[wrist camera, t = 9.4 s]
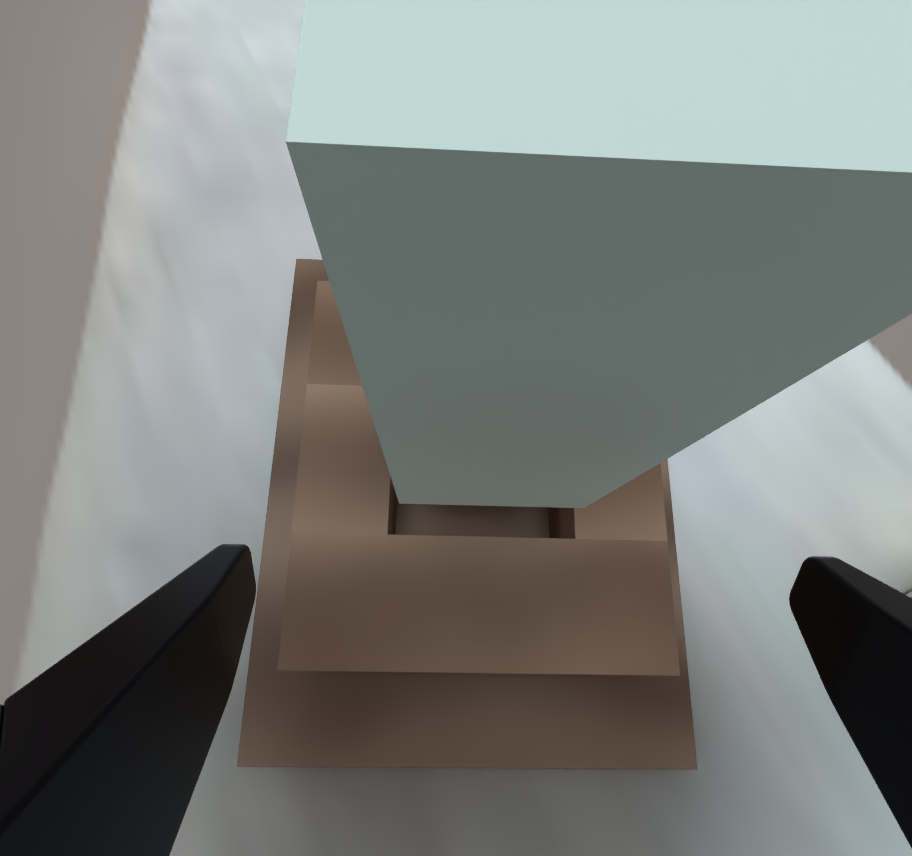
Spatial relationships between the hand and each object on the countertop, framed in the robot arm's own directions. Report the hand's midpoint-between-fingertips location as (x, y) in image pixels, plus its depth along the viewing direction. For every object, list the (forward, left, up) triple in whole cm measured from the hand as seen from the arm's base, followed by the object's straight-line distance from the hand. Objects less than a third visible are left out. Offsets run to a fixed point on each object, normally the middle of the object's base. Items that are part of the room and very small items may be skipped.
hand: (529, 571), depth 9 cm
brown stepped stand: (+3, +2, -13) cm, 14 cm away
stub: (+3, +2, -6) cm, 7 cm away
